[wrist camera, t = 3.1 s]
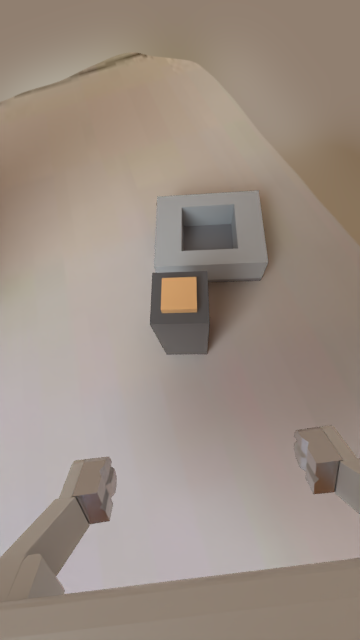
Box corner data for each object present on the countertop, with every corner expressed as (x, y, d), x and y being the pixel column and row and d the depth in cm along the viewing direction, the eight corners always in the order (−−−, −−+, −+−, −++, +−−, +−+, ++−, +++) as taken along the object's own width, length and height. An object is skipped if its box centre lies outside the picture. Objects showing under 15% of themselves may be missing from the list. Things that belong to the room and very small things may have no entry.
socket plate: (159, 283, 29) (154, 266, 25) (162, 219, 32) (157, 196, 29) (260, 280, 28) (268, 262, 25) (252, 214, 31) (258, 190, 28)
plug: (166, 354, 26) (148, 321, 17) (167, 317, 27) (150, 268, 18) (206, 353, 26) (209, 320, 17) (205, 316, 27) (207, 266, 18)
